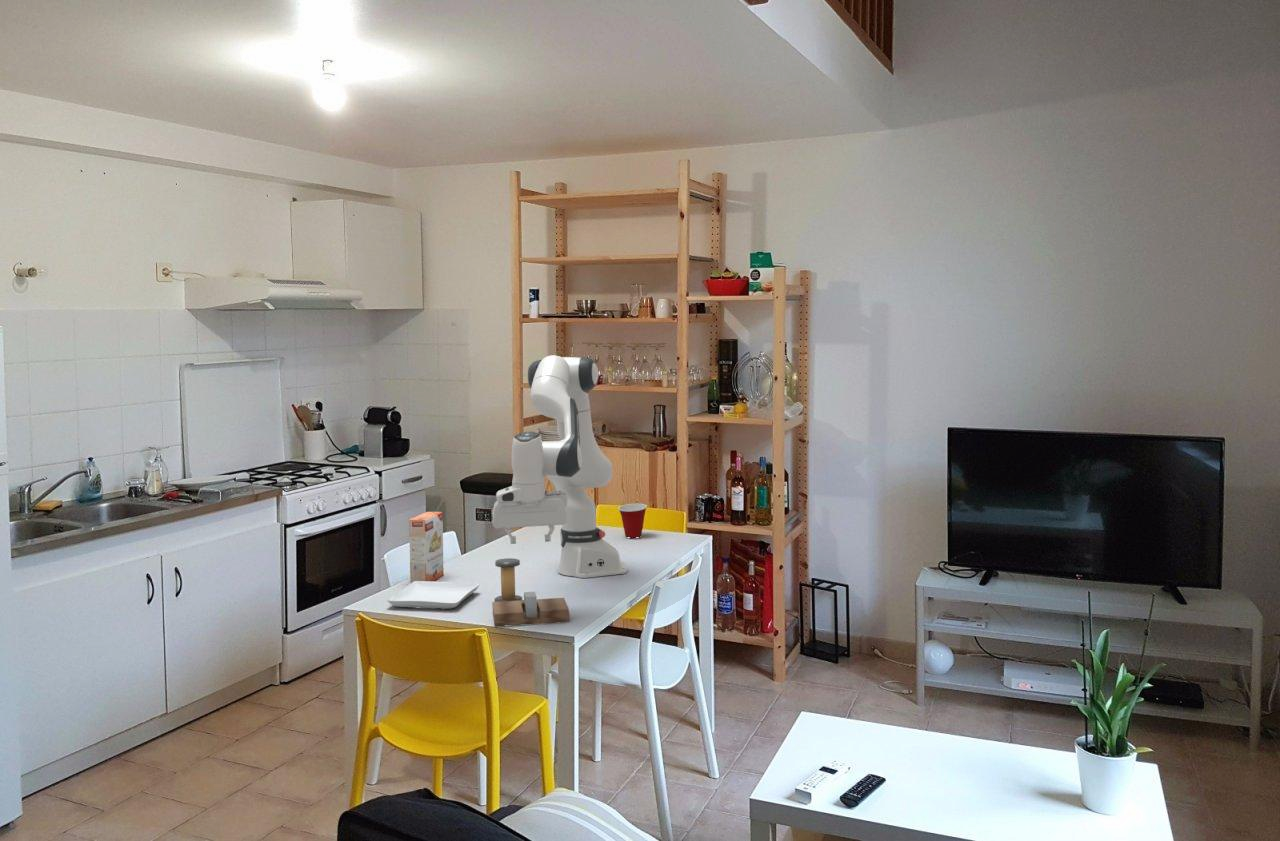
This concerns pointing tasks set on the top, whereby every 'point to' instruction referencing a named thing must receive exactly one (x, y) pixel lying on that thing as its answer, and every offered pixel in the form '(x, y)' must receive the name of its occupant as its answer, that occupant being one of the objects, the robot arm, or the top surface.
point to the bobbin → (507, 579)
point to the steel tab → (530, 604)
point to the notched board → (515, 614)
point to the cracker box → (426, 546)
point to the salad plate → (432, 594)
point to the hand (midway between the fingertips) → (530, 542)
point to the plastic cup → (633, 519)
